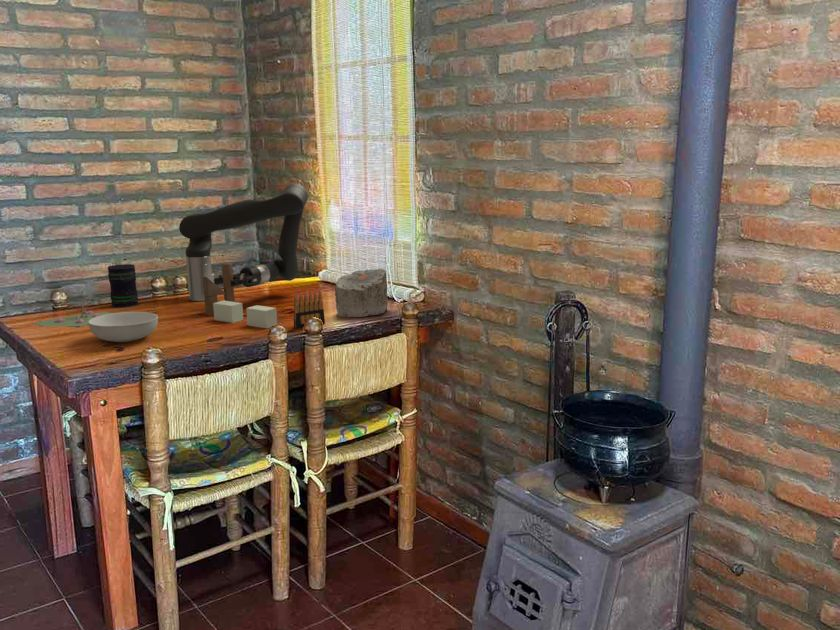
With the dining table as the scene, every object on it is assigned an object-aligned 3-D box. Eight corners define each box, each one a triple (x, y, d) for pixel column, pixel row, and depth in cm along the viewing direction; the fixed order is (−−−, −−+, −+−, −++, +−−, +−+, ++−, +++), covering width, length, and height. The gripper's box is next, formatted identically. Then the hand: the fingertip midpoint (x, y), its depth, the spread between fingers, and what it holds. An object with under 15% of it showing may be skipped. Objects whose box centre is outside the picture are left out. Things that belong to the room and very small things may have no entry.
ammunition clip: (322, 322, 272) (321, 288, 269) (325, 323, 270) (323, 289, 267) (293, 327, 266) (291, 292, 263) (296, 328, 264) (294, 292, 262)
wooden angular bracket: (205, 314, 286) (201, 265, 282) (232, 310, 293) (229, 262, 288) (209, 316, 283) (205, 266, 279) (237, 312, 290) (234, 263, 286)
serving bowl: (159, 344, 248) (157, 322, 246) (87, 350, 242) (84, 328, 240) (160, 328, 267) (158, 308, 266) (93, 334, 261) (91, 313, 260)
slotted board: (225, 317, 282) (223, 300, 281) (277, 325, 269) (276, 308, 267) (214, 319, 278) (213, 303, 277) (266, 328, 265) (265, 310, 263)
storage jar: (106, 305, 304) (101, 259, 300) (128, 301, 312) (123, 255, 308) (122, 308, 298) (117, 261, 294) (144, 303, 306) (139, 257, 302)
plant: (37, 333, 266) (34, 306, 264) (32, 321, 284) (29, 296, 282) (116, 323, 278) (113, 298, 276) (107, 312, 295) (104, 288, 293)
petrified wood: (335, 319, 276) (333, 276, 273) (336, 308, 293) (334, 268, 290) (389, 317, 278) (388, 275, 274) (387, 306, 295) (386, 266, 291)
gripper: (240, 264, 303) (208, 270, 290) (268, 267, 295) (236, 274, 282) (242, 283, 305) (209, 291, 291) (269, 287, 297) (237, 294, 284)
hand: (223, 282), depth 287 cm, fingers open, 8 cm apart
